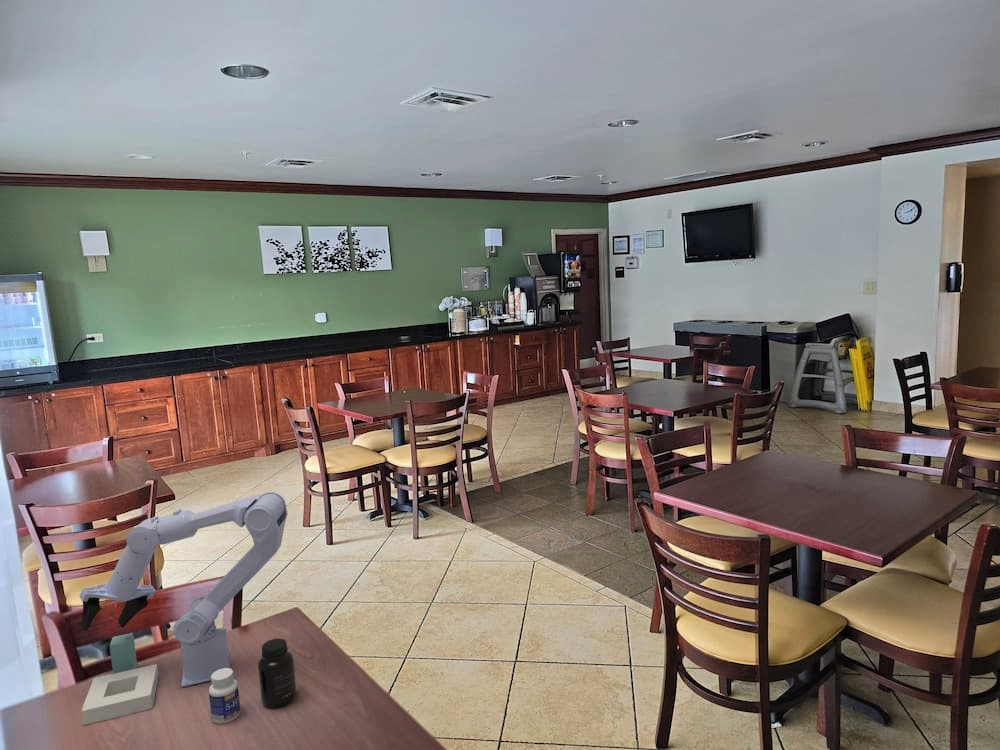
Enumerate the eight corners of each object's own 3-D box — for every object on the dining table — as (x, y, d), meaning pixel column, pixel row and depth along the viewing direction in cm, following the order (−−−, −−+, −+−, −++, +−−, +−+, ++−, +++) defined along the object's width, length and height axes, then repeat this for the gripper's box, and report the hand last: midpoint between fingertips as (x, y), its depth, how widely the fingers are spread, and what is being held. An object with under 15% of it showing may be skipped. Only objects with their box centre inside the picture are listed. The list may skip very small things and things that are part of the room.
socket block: (158, 676, 143) (157, 664, 143) (152, 708, 132) (150, 694, 132) (95, 691, 139) (93, 678, 139) (83, 725, 128) (81, 711, 128)
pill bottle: (230, 725, 126) (225, 683, 125) (206, 723, 127) (201, 680, 126) (246, 708, 131) (241, 667, 130) (222, 706, 132) (218, 665, 131)
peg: (137, 666, 148) (133, 632, 147) (134, 675, 144) (130, 641, 143) (117, 670, 147) (112, 637, 146) (114, 680, 143) (109, 645, 142)
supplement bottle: (255, 700, 134) (249, 645, 132) (286, 684, 138) (281, 631, 137) (272, 714, 129) (266, 657, 127) (303, 697, 134) (298, 642, 132)
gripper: (155, 560, 148) (130, 611, 149) (87, 561, 136) (60, 616, 138) (167, 579, 144) (141, 632, 145) (98, 581, 132) (70, 638, 133)
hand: (102, 625), depth 141 cm, fingers open, 7 cm apart
